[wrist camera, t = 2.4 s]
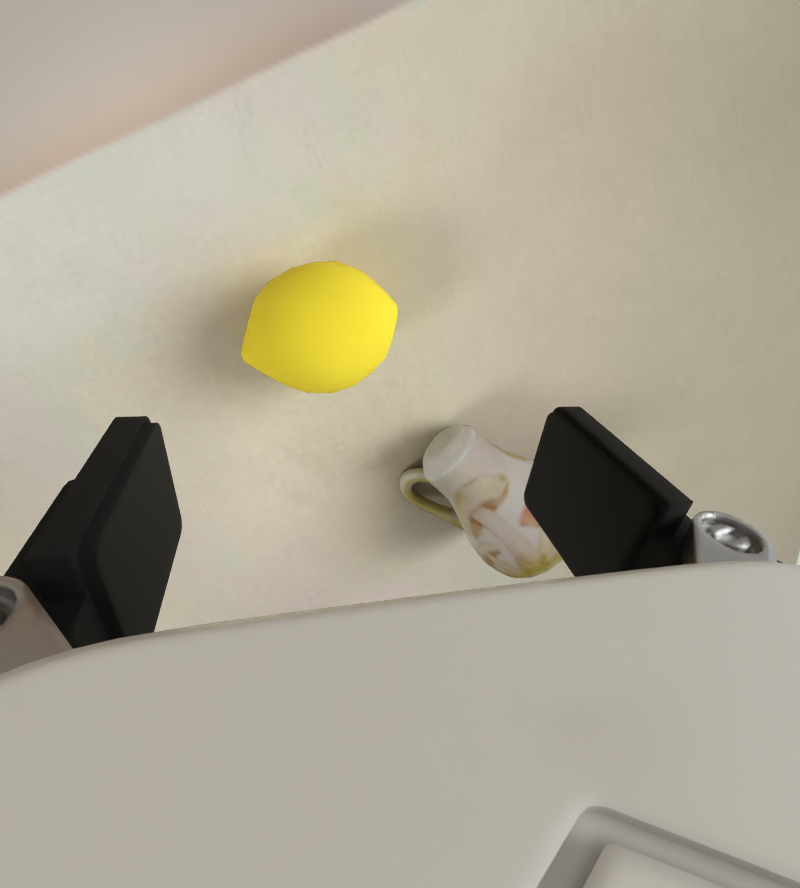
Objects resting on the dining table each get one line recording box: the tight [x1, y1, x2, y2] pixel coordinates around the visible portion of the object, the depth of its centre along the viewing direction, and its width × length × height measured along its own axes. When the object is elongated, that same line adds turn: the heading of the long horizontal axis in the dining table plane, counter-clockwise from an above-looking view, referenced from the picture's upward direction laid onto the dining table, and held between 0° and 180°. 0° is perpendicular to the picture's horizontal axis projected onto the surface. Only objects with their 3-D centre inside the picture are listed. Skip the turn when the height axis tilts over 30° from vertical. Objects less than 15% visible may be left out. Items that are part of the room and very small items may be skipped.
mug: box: [400, 425, 563, 578], centre depth 27 cm, size 8×10×10 cm
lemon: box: [241, 261, 398, 393], centre depth 19 cm, size 7×5×5 cm
